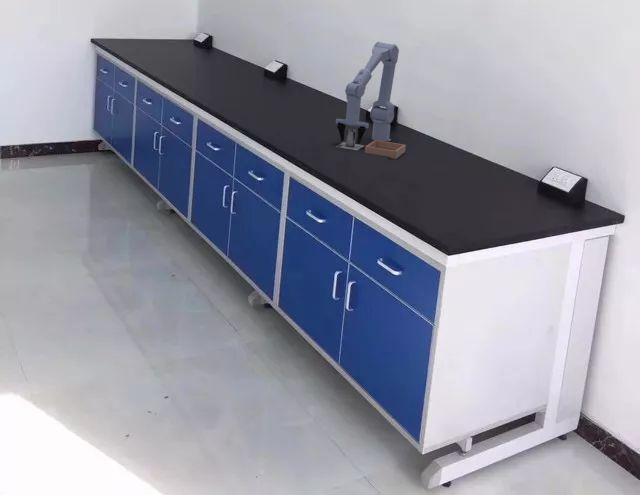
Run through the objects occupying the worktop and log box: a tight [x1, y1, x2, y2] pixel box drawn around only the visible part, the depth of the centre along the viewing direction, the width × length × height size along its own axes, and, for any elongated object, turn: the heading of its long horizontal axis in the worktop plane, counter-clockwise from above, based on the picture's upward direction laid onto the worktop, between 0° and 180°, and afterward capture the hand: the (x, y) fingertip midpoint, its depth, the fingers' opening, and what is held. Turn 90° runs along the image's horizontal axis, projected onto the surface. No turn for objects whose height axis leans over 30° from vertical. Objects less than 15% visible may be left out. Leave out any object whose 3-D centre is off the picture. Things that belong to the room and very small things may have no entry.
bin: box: [364, 140, 407, 160], centre depth 340 cm, size 14×14×4 cm
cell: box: [345, 128, 357, 147], centre depth 344 cm, size 4×4×8 cm
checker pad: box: [335, 141, 365, 151], centre depth 345 cm, size 10×10×1 cm
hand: (350, 142), depth 345 cm, fingers open, 7 cm apart
